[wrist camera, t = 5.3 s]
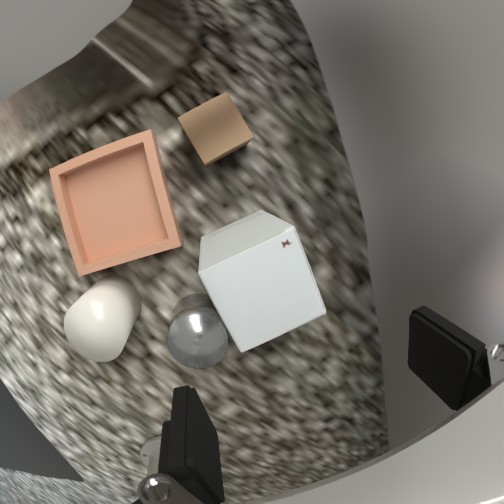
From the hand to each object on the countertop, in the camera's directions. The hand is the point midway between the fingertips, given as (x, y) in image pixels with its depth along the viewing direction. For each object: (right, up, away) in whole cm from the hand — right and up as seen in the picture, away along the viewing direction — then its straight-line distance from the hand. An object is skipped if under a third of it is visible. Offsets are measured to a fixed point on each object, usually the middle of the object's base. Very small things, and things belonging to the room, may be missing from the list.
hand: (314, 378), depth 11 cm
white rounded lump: (-18, -1, +21) cm, 27 cm away
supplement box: (-3, +5, +22) cm, 22 cm away
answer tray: (-17, +10, +18) cm, 27 cm away
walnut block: (-6, +17, +18) cm, 26 cm away
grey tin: (-9, -3, +22) cm, 24 cm away
